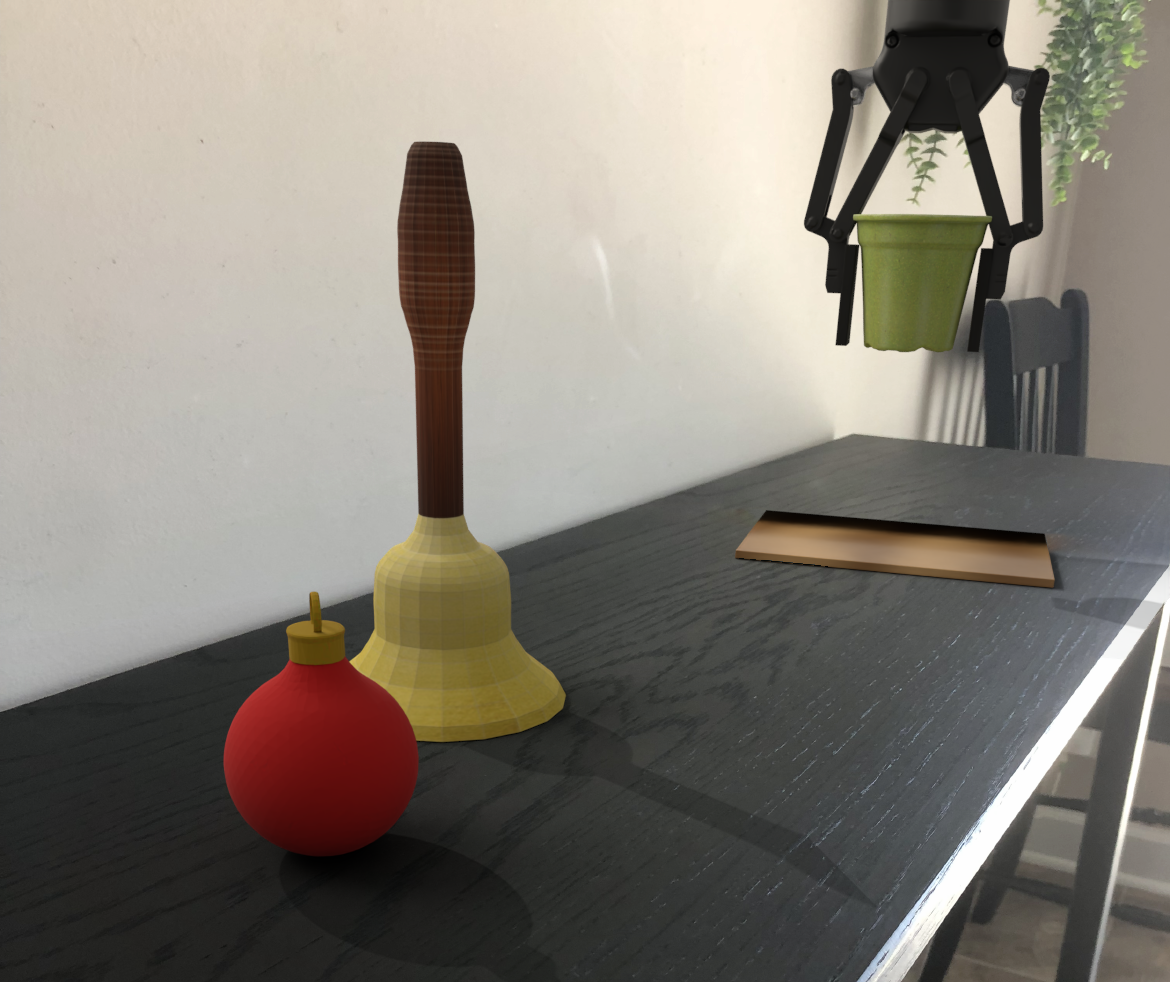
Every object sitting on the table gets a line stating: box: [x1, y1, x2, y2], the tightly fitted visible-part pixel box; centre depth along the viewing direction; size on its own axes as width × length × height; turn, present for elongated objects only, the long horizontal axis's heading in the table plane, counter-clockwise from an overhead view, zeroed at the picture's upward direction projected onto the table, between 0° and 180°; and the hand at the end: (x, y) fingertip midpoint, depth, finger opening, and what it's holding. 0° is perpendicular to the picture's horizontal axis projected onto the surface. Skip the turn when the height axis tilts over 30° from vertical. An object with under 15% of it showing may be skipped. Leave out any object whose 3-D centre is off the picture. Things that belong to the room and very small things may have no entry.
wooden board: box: [734, 509, 1056, 589], centre depth 97 cm, size 22×18×1 cm
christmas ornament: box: [223, 591, 420, 857], centre depth 46 cm, size 7×7×10 cm
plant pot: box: [853, 213, 992, 353], centre depth 87 cm, size 9×9×9 cm
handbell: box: [348, 141, 567, 743], centre depth 59 cm, size 12×12×25 cm
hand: (906, 346), depth 89 cm, fingers closed on plant pot, 8 cm apart
